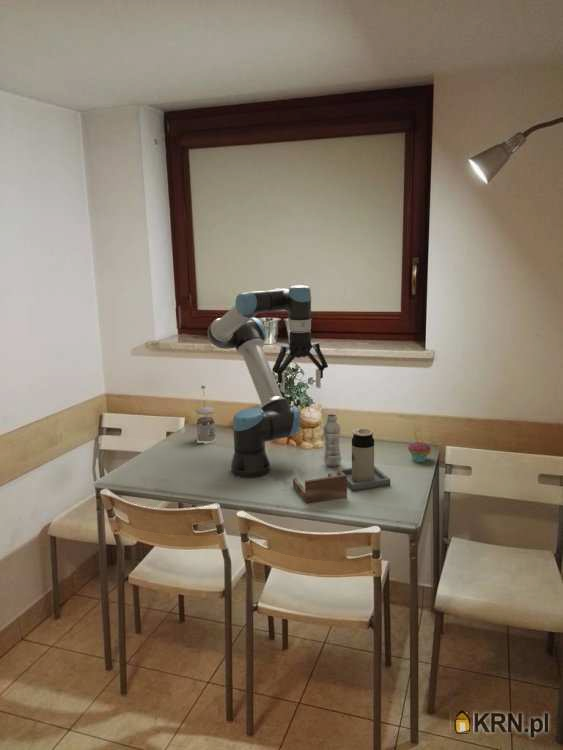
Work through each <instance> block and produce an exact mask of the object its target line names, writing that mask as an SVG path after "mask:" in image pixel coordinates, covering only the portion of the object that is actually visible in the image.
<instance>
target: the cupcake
mask: <svg viewBox="0 0 563 750" xmlns="http://www.w3.org/2000/svg"><path fill="white" fill-rule="evenodd" d="M414 439H415V442H412V443H410V444H409V445H408V448H407V450H408V452H409V453H410V454H411V456H412V457H411V459H412V461H414V462H416V463H423V462H426V460H427V457H428V455H429V454H431V452H432V449H431V446H430V445H429V443H427V442H423V441H419V440H418V435H417V431H416V429H414Z"/></svg>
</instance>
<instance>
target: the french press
mask: <svg viewBox="0 0 563 750" xmlns="http://www.w3.org/2000/svg"><path fill="white" fill-rule="evenodd" d="M206 387H207V386H206V385H201V387H200V389H202V392H203V395H205V391H204V390H205V389H206ZM205 403H206V402H205V401H203V405H204V406H201V407H199V408H197V409H196V410H195V414H197V415H198V414H199V415H207V416H203V417H199V418H197V420H196V421H197V422H196V431H197V439H198V440H199V441H212V440H214V439H215V437H216V428H215V427H216V424H215V421H214V417H212V414H213V413H214V411H215V409H214V408H212V407H210V406H205ZM209 415H210V416H209Z"/></svg>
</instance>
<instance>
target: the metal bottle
mask: <svg viewBox="0 0 563 750" xmlns="http://www.w3.org/2000/svg"><path fill="white" fill-rule="evenodd" d="M337 417H338V416H337V414H334V413H333V414H331V413H330V414H327V415H326V423H325V424H324V425H323V428H322V431H323V432H322V433H323V437H324V455H323V461H324V462H323V463H324V464H325V465H326V466H328V467H336V466H337V467H338V466H339V465H340V464H341V463H342V456H341V449H340V448H341V447H340V436H341V426H340V424H339V423H338V418H337Z"/></svg>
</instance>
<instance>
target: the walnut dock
mask: <svg viewBox="0 0 563 750" xmlns="http://www.w3.org/2000/svg"><path fill="white" fill-rule="evenodd" d="M292 487H293V488H294V490H295V491H296V492H297V493H298V495H299V496H300V497H301V498H302V500H303V501H304V503H305V504H306V505H310V503H311V504H316V503H323V502H328V501H335V500H336V501H337V500H342V499H347V498H348V487H347V476H346V475H339V476H337V475H334V474H333V473H327V476H326V477H325V476H324V477H320V478H319V477H318V478H312V479H307V480H304V486H303V485H302V484H301V482H300V481H299V480H298V478H297V477H296V478H293V479H292Z"/></svg>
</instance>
